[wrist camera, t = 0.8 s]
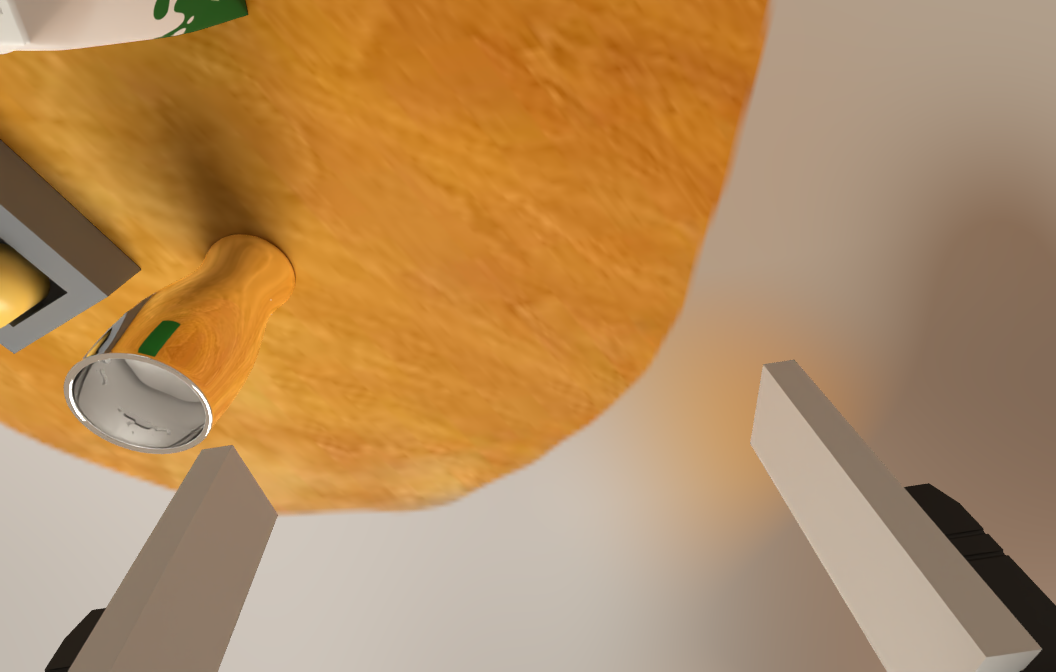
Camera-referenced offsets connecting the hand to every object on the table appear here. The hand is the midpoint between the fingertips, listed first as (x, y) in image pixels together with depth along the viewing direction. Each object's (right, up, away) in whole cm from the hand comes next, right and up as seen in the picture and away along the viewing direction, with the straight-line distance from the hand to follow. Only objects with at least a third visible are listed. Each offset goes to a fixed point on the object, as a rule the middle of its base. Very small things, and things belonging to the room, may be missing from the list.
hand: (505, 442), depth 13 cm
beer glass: (-20, +8, +25) cm, 33 cm away
